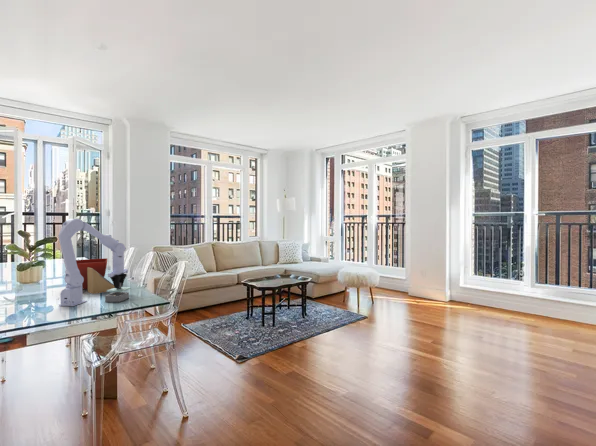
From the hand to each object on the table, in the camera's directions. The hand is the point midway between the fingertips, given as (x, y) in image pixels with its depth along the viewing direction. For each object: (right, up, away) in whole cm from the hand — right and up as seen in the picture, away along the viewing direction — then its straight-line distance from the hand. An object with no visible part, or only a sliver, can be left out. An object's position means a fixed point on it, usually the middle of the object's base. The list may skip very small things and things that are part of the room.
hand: (118, 287), depth 188 cm
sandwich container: (-15, -5, +12) cm, 20 cm away
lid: (0, -2, 0) cm, 2 cm away
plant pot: (-30, -4, +21) cm, 37 cm away
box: (+5, -5, -10) cm, 12 cm away
